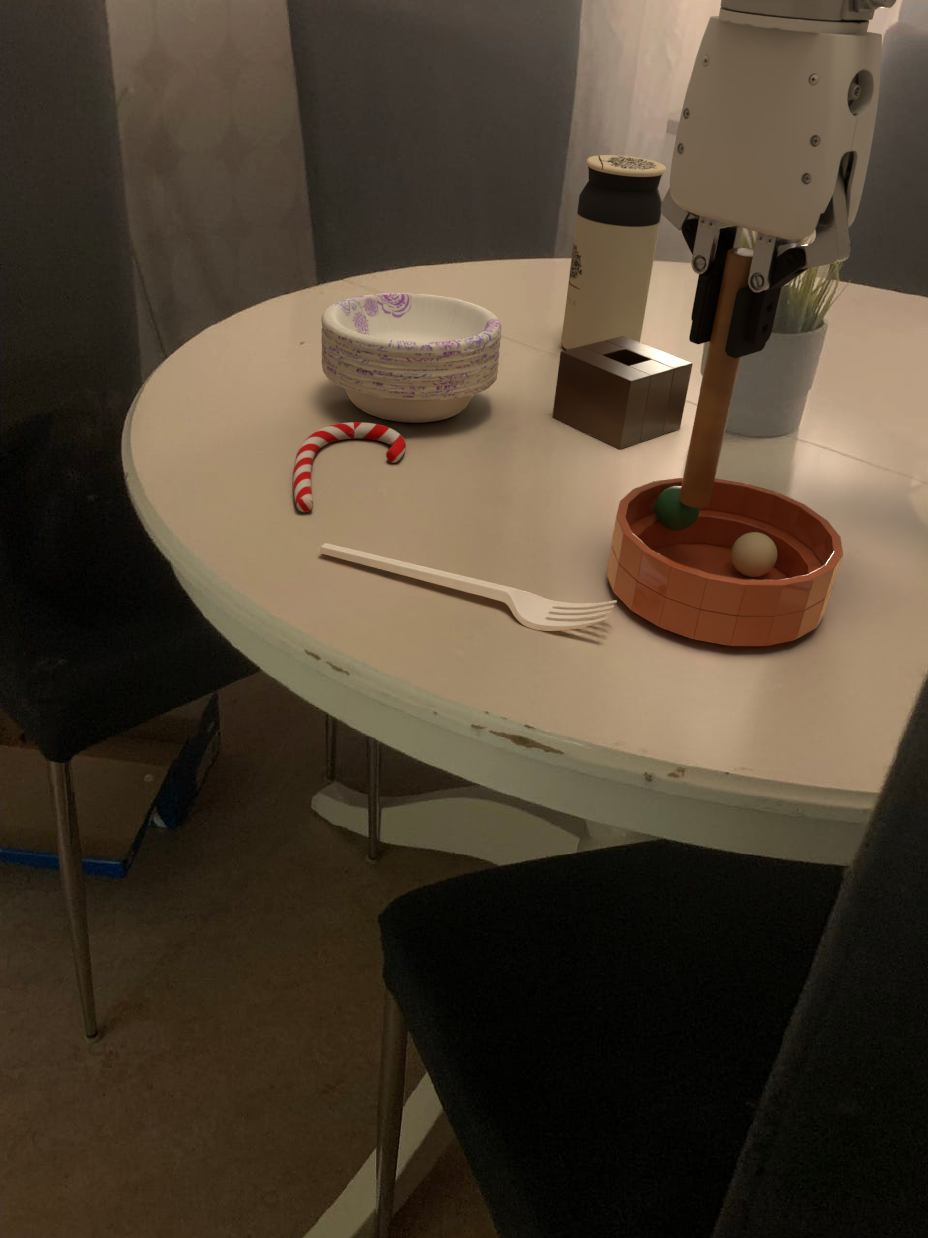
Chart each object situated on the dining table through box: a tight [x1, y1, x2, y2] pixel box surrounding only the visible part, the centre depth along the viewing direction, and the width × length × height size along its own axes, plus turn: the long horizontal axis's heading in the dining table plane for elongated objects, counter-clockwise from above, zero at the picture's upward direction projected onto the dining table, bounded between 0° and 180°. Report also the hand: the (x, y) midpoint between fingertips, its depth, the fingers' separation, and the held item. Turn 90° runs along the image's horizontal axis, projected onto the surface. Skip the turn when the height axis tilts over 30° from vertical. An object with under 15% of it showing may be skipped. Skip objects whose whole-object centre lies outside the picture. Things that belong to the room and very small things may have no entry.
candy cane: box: [292, 421, 407, 513], centre depth 82 cm, size 8×1×15 cm
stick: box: [679, 247, 754, 508], centre depth 66 cm, size 2×2×16 cm
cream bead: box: [731, 532, 777, 577], centre depth 72 cm, size 3×3×3 cm
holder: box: [552, 336, 694, 450], centre depth 93 cm, size 8×8×6 cm
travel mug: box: [560, 154, 667, 350], centre depth 106 cm, size 8×8×18 cm
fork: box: [318, 542, 618, 632], centre depth 69 cm, size 3×20×2 cm, turn 68°
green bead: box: [655, 486, 700, 531], centre depth 73 cm, size 3×3×3 cm
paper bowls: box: [320, 292, 502, 424], centre depth 93 cm, size 15×15×8 cm
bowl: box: [606, 476, 844, 647], centre depth 70 cm, size 14×14×5 cm
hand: (726, 343), depth 65 cm, fingers closed on stick, 2 cm apart
